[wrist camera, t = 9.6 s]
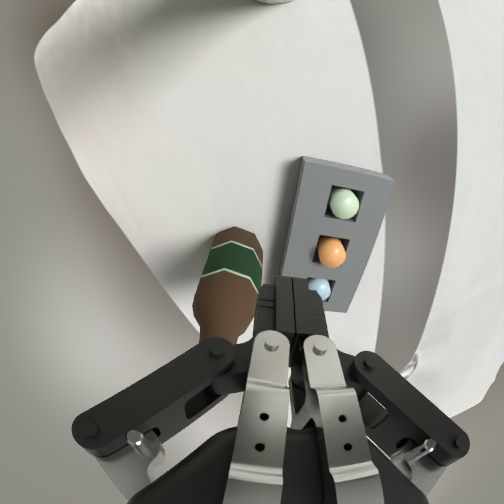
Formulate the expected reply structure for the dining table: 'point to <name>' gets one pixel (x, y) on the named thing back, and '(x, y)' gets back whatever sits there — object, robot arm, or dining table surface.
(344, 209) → the sage button
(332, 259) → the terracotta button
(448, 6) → the dining table surface
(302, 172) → the button panel
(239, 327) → the beer bottle
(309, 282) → the blue button
